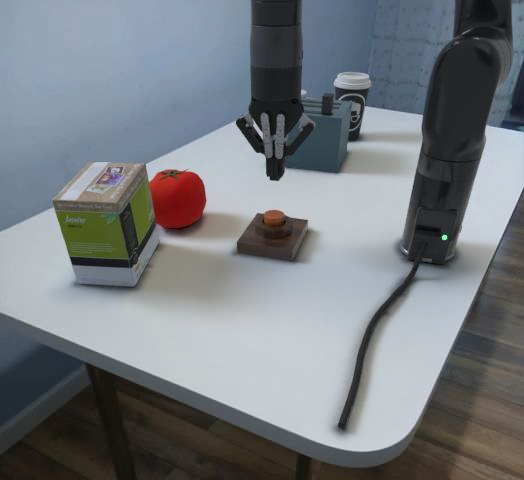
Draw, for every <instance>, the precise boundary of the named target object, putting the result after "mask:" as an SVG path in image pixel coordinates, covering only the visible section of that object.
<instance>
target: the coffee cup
mask: <svg viewBox="0 0 524 480" xmlns="http://www.w3.org/2000/svg"><path fill="white" fill-rule="evenodd" d="M333 86H334V87H335V88H334V91H335V92H334V93H335V94H334V100H339V101H351V102H352V108H351V117H350V126H349V135H348V142H354V141H357V140H358V139H359V138H360V135H361V129H362V123H363V119H364V114H365V109H366V104H367V99H368V95H369V90H370V88H371V87H372V81H371V80H370V75H369V74H367V73H364V72H358V71H357V72H356V71H345V72H340V73H338V74H337V76H336V78H335V79H334V82H333Z"/></svg>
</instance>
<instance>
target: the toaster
mask: <svg viewBox="0 0 524 480" xmlns="http://www.w3.org/2000/svg"><path fill="white" fill-rule="evenodd" d="M301 102H302V105H303V107H304V114H305V115H306V116H307V117H308V118H309V119H310V120H315V121H316V126H315V128H314V129H313V131H312V132H311V133H310V134H309V136H308V137H307V138H306V139H305V141H304V142H303V143H302V144H301V145H300V147H299V148H298V149H297V150H296V151H295V153H294V154H293V155H292V156H285V168H292V169H300V170H308V171H309V170H310V171H319V172H326V173H327V172H328V173H336V174H337V173H338V170H339V168H340V167H341V165H342V162H343V161H344V158H345V156H346V155H347V153H348V143H349V141H348V135H349V126H350V117H351V108H352V102H351V101H339V100H335V99H333V109H332V112H331V113H330V114H323V113H321V109H322V98H313V97H305V98H303V97H301ZM299 125H300V121H298V122H297V123H296V125H295V126H294V128H293V129H292V130H291V132H290V133H289V134H288V139H287V145H290V144H291V143H292V142H293V141H294V140H295V138H296V137H297V136H298V135H299V133H300V131H299Z"/></svg>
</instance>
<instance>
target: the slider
mask: <svg viewBox="0 0 524 480" xmlns="http://www.w3.org/2000/svg"><path fill="white" fill-rule="evenodd" d="M321 99H322V109H321V113H323V114H330V113H331V112H332V109H333V100H334V99H335V94H334V93H328V92H324V93H323V95H322V97H321Z"/></svg>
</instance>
